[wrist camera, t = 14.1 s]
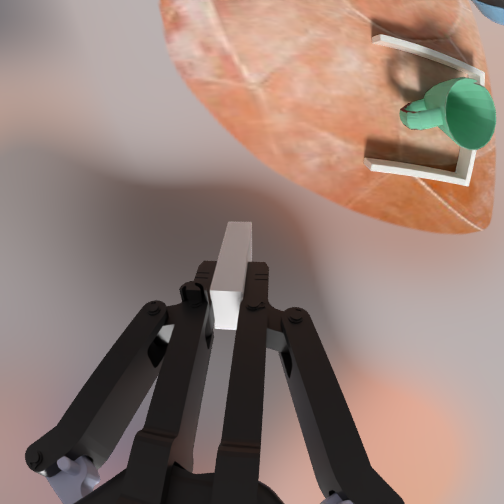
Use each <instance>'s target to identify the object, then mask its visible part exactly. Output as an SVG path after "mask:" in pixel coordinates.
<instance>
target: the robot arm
mask: <svg viewBox="0 0 504 504" xmlns="http://www.w3.org/2000/svg"><path fill="white" fill-rule="evenodd" d="M471 1H472V2H473V3H474V4H475V5H476V7H477V8H478V9H479V10H480V11H481V13H482V14H483V15H484V16H486V17H487V18H489V19H490V20H491V21H493V22H495V23H498V24H501V25H504V0H471ZM268 276H269V267H268V266H267V264H266V263H265V262H252V222H228V225H227V229H226V232H225V236H224V240H223V243H222V246H221V250H220V254H219V257H218V261H203V262H202V263H201V265H199V267H198V270H197V273H196V276H195V279H194V281H190V282H187V283H185V284H183V285H182V286H181V287H180V289H179V290H180V294H181V298H182V303H180V304H177V305H172V306H167V307H166V305H165V303H163V302H161V301H151V302H148V303H147V304H145V305H144V306H143V307H142V309H141V310H140V311H139V313H138V314H137V315H136V316H135V318H134V319H133V320H132V322H131V323H130V324H129V325H128V327H127V328H126V329H125V331H124V332H123V333H122V335H121V336H120V337H119V338H118V340H117V341H116V343H115V344H114V345H113V346H112V348H111V349H110V351H109V352H108V353H107V354H106V356H105V357H104V359H103V360H102V361H101V363H100V364H99V365H98V367H97V368H96V370H95V371H94V372H93V374H92V375H91V376H90V378H89V379H88V381H87V382H86V383H85V385H84V386H83V388H82V389H81V391H80V392H79V393H78V395H77V396H76V398H75V399H74V401H73V402H72V404H71V405H70V407H69V408H68V410H67V411H66V413H65V414H64V416H63V417H62V419H61V420H60V422H59V423H58V424H57V426H56V427H54V428H53V429H52V430H50V431H49V432H48V433H46V434H45V435H44V436H42V437H41V438H40V439H39V440H37V441H35V442H34V443H33V444H31V445H30V446H29V447H28V448H27V450H26V453H25V460H26V463H27V465H28V466H29V468H30V469H31V470H33V471H34V472H36V473H39V474H41V475H43V476H45V477H46V478H47V480H48V482H49V483H50V485H51V486H52V488H53V489H54V491H55V492H56V494H57V495H58V497H59V498H60V500H61V501H62V503H63V504H284V503H283V501H282V500H281V499H280V498H279V497H278V496H277V494H276V493H275V492H274V491H273V490H271V488H270V487H268V486H267V485H265V484H263V483H262V482H260V481H258V478H259V464H260V449H261V431H262V415H263V397H264V377H265V358H266V348H270V349H273V350H276V351H278V352H279V356H280V359H281V363H282V366H283V369H284V373H285V376H286V379H287V383H288V386H289V390H290V393H291V396H292V400H293V403H294V407H295V410H296V413H297V417H298V420H299V423H300V427H301V430H302V433H303V437H304V440H305V443H306V447H307V450H308V453H309V457H310V460H311V463H312V467H313V470H314V473H315V476H316V479H317V482H318V485H319V487H320V489H321V491H322V493H323V495H324V497H325V498H326V499H325V500H323V501H322V502H321V503H320V504H404V501H403V500H402V498H401V497H400V496H399V495H398V494H397V493H396V492H395V491H394V490H393V489H392V488H391V487H390V486H389V485H388V484H387V483H386V482H385V481H384V480H383V479H382V478H381V477H380V475H378V473H377V472H376V471H375V470H374V469H373V468H372V467H371V465H370V462H369V459H368V457H367V454H366V451H365V449H364V447H363V444H362V441H361V438H360V436H359V434H358V431H357V428H356V426H355V423H354V421H353V418H352V415H351V413H350V411H349V408H348V406H347V403H346V401H345V398H344V396H343V393H342V391H341V389H340V386H339V384H338V381H337V379H336V376H335V374H334V371H333V369H332V367H331V364H330V362H329V359H328V357H327V355H326V352H325V350H324V348H323V345H322V343H321V340H320V338H319V336H318V333H317V331H316V329H315V327H314V324H313V322H312V320H311V317H310V315H309V314H308V312H307V311H305V310H304V309H302V308H297V307H292V308H288V309H287V310H285V311H280V310H278V309H275V308H274V307H272V306H271V305H270V304H269V302H268ZM214 323H215V328H216V329H230V330H236V336H235V344H234V350H233V358H232V365H231V372H230V380H229V387H228V394H227V402H226V410H225V417H224V424H223V431H222V439H221V443H220V445H219V447H218V452H217V458H216V466H215V473H205V474H193V473H192V471H193V448H194V442H195V436H196V430H197V425H198V419H199V413H200V408H201V402H202V397H203V391H204V385H205V381H206V375H207V370H208V365H209V359H210V354H211V349H212V344H213V339H214V332H213V328H214ZM157 376H158V379H157V382H156V386H155V389H154V392H153V396H152V399H151V403H150V406H149V410H148V414H147V417H146V421H145V425H144V428H143V429H142V430H140V431H138V432H137V434H136V435H135V438H134V441H133V445H132V449H131V453H130V457H129V461H128V465H127V468H126V469H124V470H123V471H122V472H120V473H119V474H117V475H116V476H115V477H113V478H112V479H111V480H109V481H107V482H106V483H104V484H103V485H102V486H100V487H98V488H97V489H96V490H94V491H93V488H94V486H95V485H96V484H97V483H99V481H100V476H99V474H98V469H99V468H100V467H101V466H102V465H103V464H104V463H105V462H106V461H107V459H108V458H109V456H110V455H111V453H112V452H113V450H114V449H115V447H116V445H117V443H118V442H119V440H120V438H121V437H122V435H123V433H124V431H125V429H126V428H127V426H128V425H129V423H130V421H131V420H132V418H133V416H134V415H135V413H136V411H137V409H138V408H139V406H140V404H141V403H142V401H143V399H144V398H145V396H146V394H147V393H148V391H149V389H150V388H151V386H152V384H153V383H154V381H155V379H156V378H157Z"/></svg>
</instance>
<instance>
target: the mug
mask: <svg viewBox="0 0 504 504" xmlns="http://www.w3.org/2000/svg"><path fill="white" fill-rule="evenodd" d="M474 82H477V80H475V79H471V78H465V77H460V78H455V79H451V80H448V81H445V82H442V83H439V84H437V85H435V86H433V87H432V88H431V89H430V90H428V91H427V92H426V94H425V96H424V99H421V100H417V101H414V102H411V103H408V104H407V105H405V106H404V107H403V108H401V109H400V119H401V121H402V123H403V124H404V125H405V126H407V127H408V128H409V129H411V130H424V129H428V128H433V127H436V126H438V127H439V128H440V129H441V130H442V131H443V132H444V133H446V134H447V135H448V136H449V137H450V138H451V139H452V140H453V141H454V142H455V143H456V144H458V145H459V146H461V147H463V148H466V149H468V150H478V149H480V148H482V147H484V146H485V145H486V144H487V143H488V142H489V141H490V139H491V137H492V135H493V133H494V130H495V125H496V110H495V106H494V102H493V99H492V97H491V95H490V93H489V91H488V90H487V89H486V88H485V87H484V86H482V85H480V84H476V83H474Z"/></svg>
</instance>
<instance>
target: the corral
mask: <svg viewBox="0 0 504 504" xmlns="http://www.w3.org/2000/svg"><path fill="white" fill-rule="evenodd" d="M372 43H373V44H378V45H382V46H386V47H390V48H394V49H398V50H402V51H405V52H409V53H412V54H415V55H418V56H421V57H424V58H427V59H430V60H433V61H436V62H439V63H441V64H444V65H447V66H449V67H452V68H454V69H457V70H459V71H461V72H464V73H466V74H468V78H471V79H475V80H477V82H474V83H476V84H480V85H482V86H484V81H485V72H483V71H481V70H479V69H477V68H475V67H473V66H470V65H468V64H466V63H464V62H462V61H459V60H457V59H455V58H452V57H450V56H448V55H445V54H443V53H440V52H437V51H435V50H432V49H429V48H426V47H423V46H421V45H418V44H414V43H411V42H408V41H405V40H401V39H398V38H394V37H390V36H386V35H382V34H379V35H376V36H374V37H372ZM475 155H476V150H468V149H466V148H463V147H461V146H460V151H459V157H458V162H457V166H456V171H455V172H451V171H446V170H441V169H436V168H431V167H426V166H420V165H415V164H409V163H402V162H396V161H389V160H382V159H374V158H366V157H364V164H365V165H366V166H367V167H368V168H369V169H370V171H377V172H385V173H393V174H401V175H408V176H414V177H421V178H427V179H433V180H439V181H444V182H449V183H455V184H460V185H464V186H469V182H470V178H471V174H472V170H473V165H474V160H475Z"/></svg>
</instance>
